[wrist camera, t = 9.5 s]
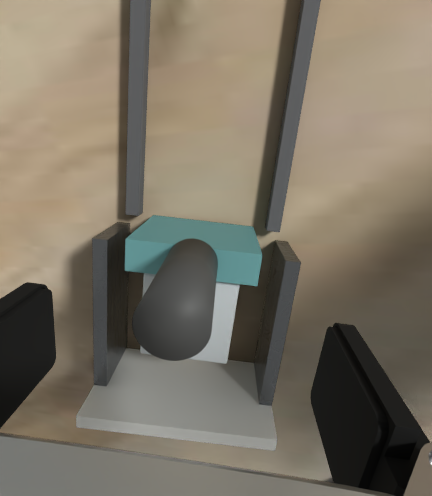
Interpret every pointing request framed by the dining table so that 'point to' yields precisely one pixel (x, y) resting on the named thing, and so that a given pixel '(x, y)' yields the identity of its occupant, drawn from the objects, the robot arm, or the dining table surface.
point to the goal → (182, 365)
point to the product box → (214, 321)
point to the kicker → (186, 279)
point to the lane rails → (138, 107)
